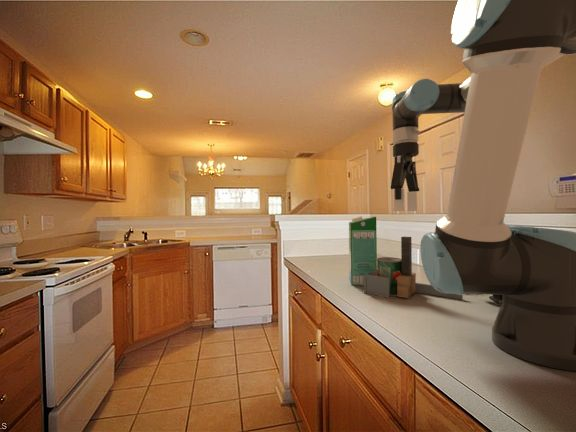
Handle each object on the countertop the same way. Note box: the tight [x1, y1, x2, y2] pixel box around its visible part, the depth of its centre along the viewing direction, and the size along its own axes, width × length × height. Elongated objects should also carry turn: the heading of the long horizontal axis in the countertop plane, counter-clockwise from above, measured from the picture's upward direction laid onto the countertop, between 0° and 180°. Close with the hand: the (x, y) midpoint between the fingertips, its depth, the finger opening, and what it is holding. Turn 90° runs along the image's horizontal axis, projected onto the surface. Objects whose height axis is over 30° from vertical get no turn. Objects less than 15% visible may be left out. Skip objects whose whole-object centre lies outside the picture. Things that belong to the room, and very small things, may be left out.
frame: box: [363, 270, 464, 301], centre depth 87 cm, size 12×26×6 cm, turn 51°
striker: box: [396, 236, 417, 299], centre depth 88 cm, size 9×3×18 cm, turn 141°
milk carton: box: [348, 215, 378, 286], centre depth 105 cm, size 9×9×25 cm
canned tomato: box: [377, 256, 402, 297], centre depth 91 cm, size 8×8×11 cm
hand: (406, 211), depth 88 cm, fingers open, 13 cm apart
